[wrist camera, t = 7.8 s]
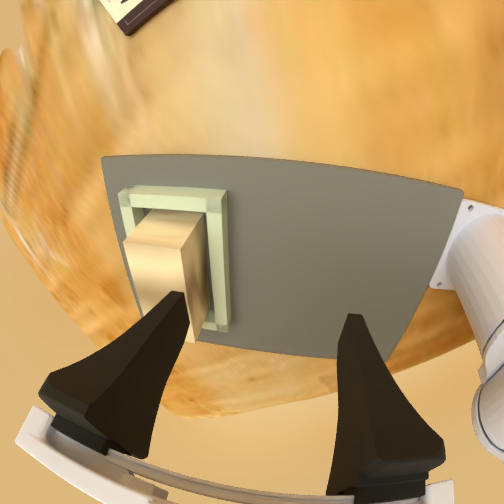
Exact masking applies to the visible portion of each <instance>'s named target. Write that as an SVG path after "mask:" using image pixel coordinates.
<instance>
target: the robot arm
mask: <svg viewBox="0 0 504 504" xmlns="http://www.w3.org/2000/svg"><path fill="white" fill-rule="evenodd" d="M470 205H471V208H470V209H468V207H469V206H470ZM439 282H440V283H439ZM438 283H439V284H438ZM429 286H430V288H434V289H445V290H455V291H456V293H457V296H458V298H459V300H460V302H461V304H462V307H463V309H464V311H465V314H466V316H467V319H468V321H469V324H470V326H471V329H472V331H473V334H474V336H475V339H476V342H477V345H478V347H479V350H480V353H481V356H482V359H483V364H482V365H481V367H480V368H479V369H478V372H479V376H480V379H481V383H482V384H481V385H480V386H479V388H478V389H477V391H476V393H475V396H474V398H473V402H472V409H471V410H472V424H473V427H474V431H475V433H476V436H477V438H478V440H479V442H480V443H481V445H482V446H483V447H484V448H485V449H486V450H487V451H488V452H489V453H491V454H492V455H494V456H496V457H497V458H499V459H500V460H501V461H502V462H503V463H504V209H502V208H499V207H495V206H492V205H488V204H484V203H481V202H477V201H473V200H469V199H462V201H461V204H460V207H459V210H458V213H457V216H456V219H455V222H454V224H453V227H452V230H451V233H450V235H449V238H448V241H447V243H446V246H445V248H444V251H443V253H442V256H441V258H440V260H439V263H438V265H437V267H436V270H435V272H434V274H433V276H432V279H431V281H430V283H429ZM189 325H190V319H189V315H188V310H187V305H186V300H185V295H184V292H178V291H170V292H169V293H168V294H167V295H166V296H165V297H164V298H163V299H162V300H161V301H160V302H159V303H158V304H156V305H155V306H154V307H153V308H152V309H151V310H150V311H149V312H148V313H147V314H146V315H145V316H143V317H142V318H141V319H140V320H139V321H138V322H137V323H136V324H134V325H133V326H132V327H131V328H129V329H128V330H127V331H126V332H125V333H123V334H122V335H121V336H119V337H118V338H117V339H115V340H114V341H113V342H111V343H110V344H108V345H107V346H105V347H104V348H102V349H100V350H99V351H97V352H95V353H93V354H92V355H90V356H88V357H86V358H84V359H83V360H81V361H79V362H76V363H74V364H72V365H70V366H67V367H65V368H62V369H60V370H57V371H54V372H51V373H50V374H49V376H48V377H47V379H46V380H45V382H44V384H43V385H42V387H41V389H40V391H39V392H38V394H39V397H40V398H41V399H42V400H43V401H44V402H45V403H46V404H47V405H48V406H49V407H50V408H51V409H52V410H53V411H55V412H56V415H55V417H53V416H51V415H50V414H48V413H47V412H45V411H44V410H42V409H41V408H39V407H37V406H36V405H33V407H32V409H31V411H30V413H29V415H28V416H27V418H26V420H25V422H24V424H23V426H22V428H21V430H20V432H19V434H18V436H17V438H16V441H15V443H16V444H17V445H19V446H20V447H21V448H22V449H23V450H25V451H26V452H27V453H29V454H30V455H31V456H33V457H34V458H35V459H37V460H38V461H39V462H40V463H42V464H43V465H44V466H46V467H47V468H48V469H50V470H51V471H53V472H54V473H56V474H57V475H58V476H60V477H61V478H63V479H64V480H66V481H67V482H69V483H70V484H72V485H73V486H75V487H76V488H78V489H80V490H81V491H83V492H85V493H86V494H88V495H90V496H91V497H93V498H95V499H97V500H98V501H100V502H102V503H104V504H177V503H174V502H171V501H167V496H168V491H166V490H163V489H161V488H159V487H157V486H155V485H154V484H151V483H148V482H146V481H143V480H141V479H139V478H136V477H135V476H134V474H133V473H135V474H137V475H140V476H143V477H145V478H148V479H151V480H153V481H157V482H159V483H162V484H165V485H168V486H171V487H175V488H178V489H182V490H185V491H188V492H192V493H196V494H200V495H204V496H208V497H212V498H217V499H222V500H226V501H232V502H237V503H243V504H454V480H453V479H450V480H446V481H441V482H437V483H432V484H428V485H425V480H427V479H428V476H429V475H428V471H430V470H432V469H434V468H436V467H438V466H440V465H441V464H442V463H444V461H445V460H446V455H445V447H444V442H443V439H442V438H441V437H440V436H439V435H438V434H437V433H436V432H435V431H434V430H433V429H432V428H431V427H430V426H429V425H428V424H427V423H426V422H425V421H424V420H423V419H422V418H421V416H420V415H419V414H418V413H417V412H416V410H415V409H414V408H413V406H412V405H411V404H410V403H409V402H408V400H407V398H406V397H405V396H404V394H403V393H402V392H401V390H400V388H399V387H398V385H397V384H396V382H395V381H394V379H393V377H392V375H391V374H390V372H389V370H388V368H387V366H386V365H385V363H384V361H383V359H382V357H381V355H380V353H379V351H378V349H377V347H376V345H375V343H374V341H373V338H372V336H371V334H370V332H369V329H368V327H367V325H366V322H365V320H364V317H363V316H362V314H352V313H348V315H347V318H346V321H345V324H344V327H343V329H342V332H341V335H340V338H339V341H338V349H337V381H338V406H339V408H338V423H337V433H336V441H335V449H334V455H333V461H332V467H331V472H330V477H329V481H328V485H327V490H326V496H314V495H295V494H282V493H273V492H265V491H257V490H251V489H244V488H238V487H233V486H227V485H222V484H218V483H214V482H209V481H205V480H201V479H197V478H193V477H189V476H185V475H182V474H179V473H175V472H172V471H169V470H166V469H163V468H160V467H157V466H154V465H151V464H148V463H145V462H142V461H140V460H137V459H135V458H132V457H129V456H133V457H136V458H138V459H145V458H146V457H148V453H149V447H150V442H151V436H152V431H153V427H154V423H155V419H156V415H157V411H158V408H159V404H160V401H161V397H162V394H163V391H164V388H165V385H166V382H167V380H168V378H169V375H170V373H171V371H172V369H173V366H174V364H175V362H176V360H177V358H178V355H179V353H180V351H181V349H182V346H183V344H184V342H185V338H186V335H187V332H188V329H189ZM124 454H127V455H129V456H127V455H124Z"/></svg>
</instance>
